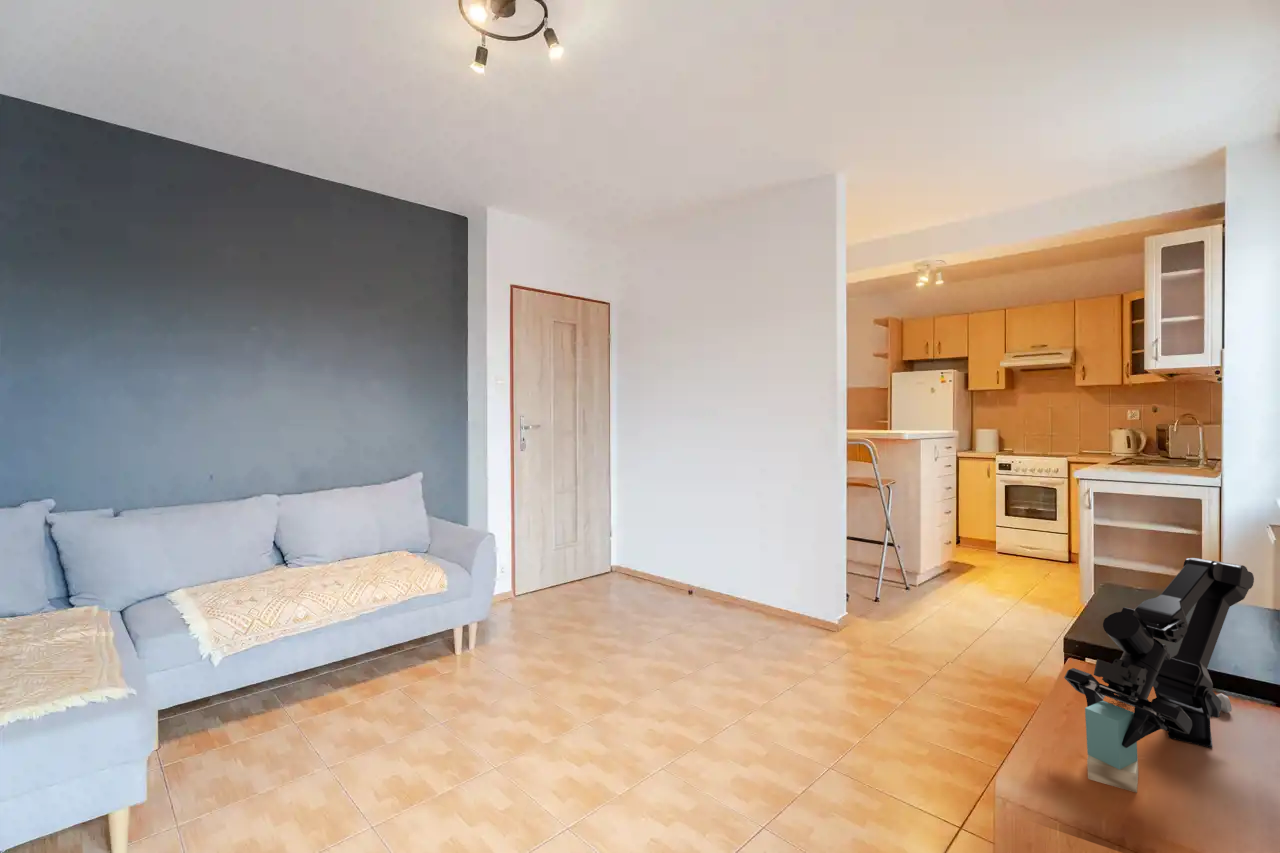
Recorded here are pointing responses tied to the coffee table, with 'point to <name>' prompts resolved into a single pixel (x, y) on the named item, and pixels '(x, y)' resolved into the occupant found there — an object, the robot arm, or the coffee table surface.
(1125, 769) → the post pedestal
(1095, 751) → the teal square top
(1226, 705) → the smooth white sculpture
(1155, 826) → the coffee table surface
